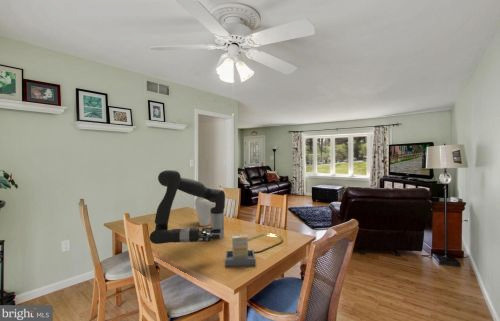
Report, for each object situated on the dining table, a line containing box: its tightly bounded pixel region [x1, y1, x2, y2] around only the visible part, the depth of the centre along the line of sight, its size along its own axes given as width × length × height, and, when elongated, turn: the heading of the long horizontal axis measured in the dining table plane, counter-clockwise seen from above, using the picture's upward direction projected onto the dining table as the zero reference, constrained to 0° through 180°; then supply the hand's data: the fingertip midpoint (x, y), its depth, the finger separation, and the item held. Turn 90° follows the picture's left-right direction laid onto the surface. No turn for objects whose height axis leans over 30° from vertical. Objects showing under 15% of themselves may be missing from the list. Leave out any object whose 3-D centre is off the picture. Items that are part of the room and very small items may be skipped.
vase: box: [194, 196, 214, 227], centre depth 197 cm, size 15×15×29 cm
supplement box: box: [231, 234, 249, 259], centre depth 131 cm, size 8×5×13 cm, turn 95°
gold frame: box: [248, 233, 283, 254], centre depth 156 cm, size 19×35×2 cm, turn 135°
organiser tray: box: [225, 249, 256, 268], centre depth 131 cm, size 12×16×4 cm
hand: (219, 233), depth 130 cm, fingers open, 8 cm apart
